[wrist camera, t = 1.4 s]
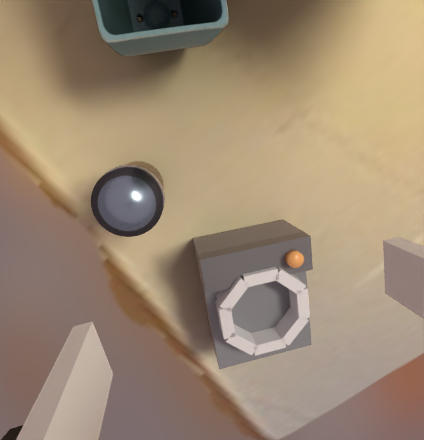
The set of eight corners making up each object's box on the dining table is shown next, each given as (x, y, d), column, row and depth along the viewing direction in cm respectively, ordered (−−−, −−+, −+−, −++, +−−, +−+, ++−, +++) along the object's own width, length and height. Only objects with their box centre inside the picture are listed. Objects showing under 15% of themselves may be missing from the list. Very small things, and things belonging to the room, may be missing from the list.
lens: (108, 165, 29) (79, 174, 19) (158, 156, 29) (156, 160, 19) (120, 213, 30) (99, 245, 20) (168, 204, 31) (171, 231, 21)
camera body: (192, 238, 32) (200, 263, 25) (283, 219, 33) (314, 238, 26) (212, 339, 36) (223, 386, 29) (292, 319, 37) (322, 358, 30)
